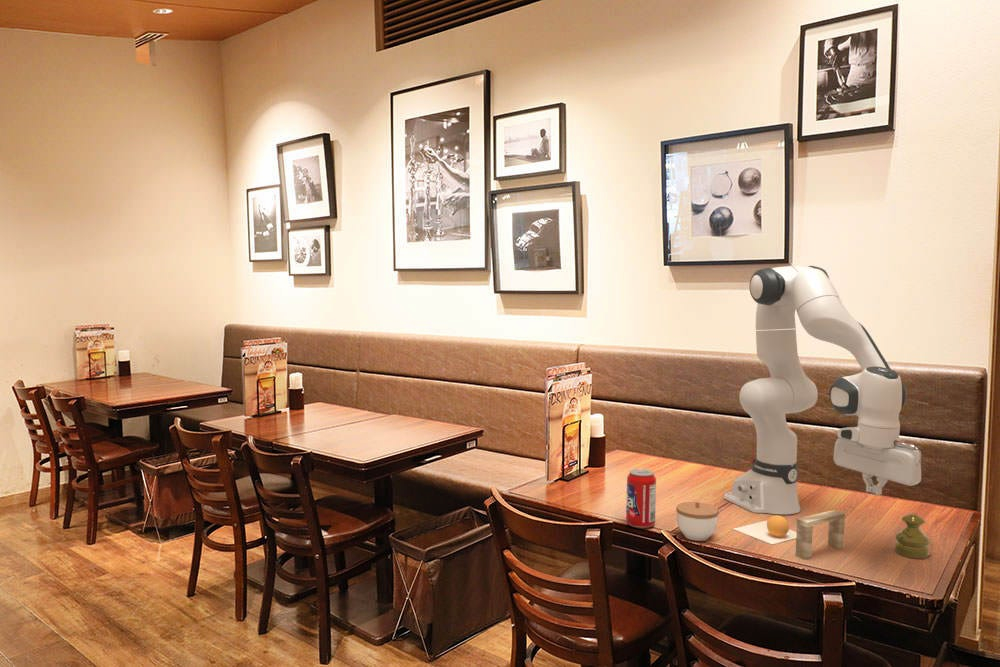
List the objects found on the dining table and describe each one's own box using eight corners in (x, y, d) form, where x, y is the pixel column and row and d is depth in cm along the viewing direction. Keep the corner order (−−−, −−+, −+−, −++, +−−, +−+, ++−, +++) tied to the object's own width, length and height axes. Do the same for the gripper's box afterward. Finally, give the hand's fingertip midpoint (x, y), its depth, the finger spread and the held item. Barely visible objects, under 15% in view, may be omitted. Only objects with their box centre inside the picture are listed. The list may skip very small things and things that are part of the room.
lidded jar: (726, 538, 190) (727, 503, 190) (699, 547, 184) (700, 511, 183) (693, 526, 199) (694, 493, 198) (667, 534, 193) (667, 500, 192)
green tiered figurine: (916, 548, 185) (919, 509, 184) (935, 559, 177) (937, 519, 176) (888, 548, 184) (890, 509, 184) (905, 559, 177) (907, 519, 176)
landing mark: (732, 529, 197) (732, 528, 197) (765, 521, 204) (765, 520, 204) (772, 545, 186) (772, 544, 186) (805, 536, 192) (805, 535, 192)
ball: (776, 515, 189) (782, 537, 187) (789, 512, 192) (796, 533, 190) (759, 519, 193) (766, 540, 192) (773, 515, 196) (779, 536, 195)
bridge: (795, 555, 179) (797, 519, 178) (832, 544, 186) (834, 509, 186) (806, 559, 177) (807, 522, 176) (843, 548, 184) (845, 512, 183)
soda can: (655, 530, 196) (657, 476, 194) (626, 529, 197) (627, 474, 196) (654, 521, 203) (655, 468, 202) (625, 519, 205) (626, 467, 203)
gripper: (929, 445, 164) (925, 504, 166) (847, 426, 182) (844, 479, 183) (913, 448, 161) (908, 508, 163) (831, 428, 179) (827, 483, 180)
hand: (873, 493), depth 173 cm, fingers closed
